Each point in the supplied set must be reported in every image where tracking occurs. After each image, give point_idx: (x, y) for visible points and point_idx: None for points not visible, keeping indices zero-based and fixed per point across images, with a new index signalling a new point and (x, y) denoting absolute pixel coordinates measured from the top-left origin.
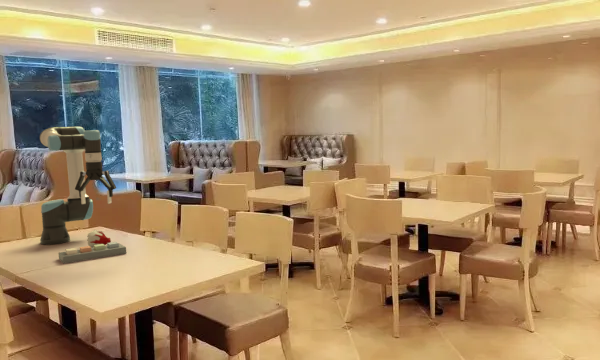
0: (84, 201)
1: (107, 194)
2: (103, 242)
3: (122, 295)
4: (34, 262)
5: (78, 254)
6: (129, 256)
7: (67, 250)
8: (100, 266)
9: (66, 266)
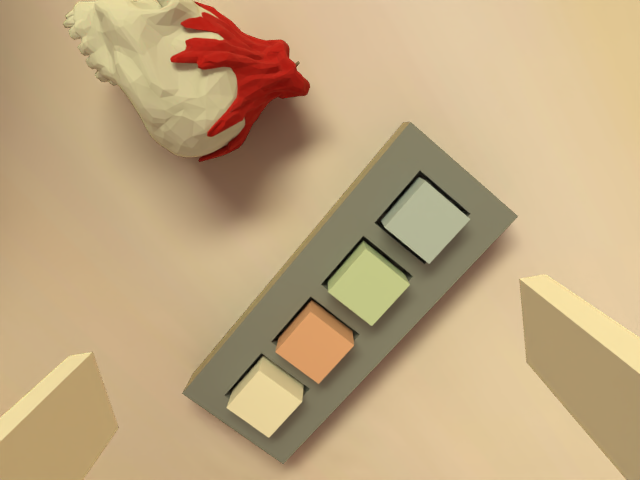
0: (83, 402)
1: (632, 477)
2: (266, 104)
3: None
4: (118, 439)
5: (331, 412)
6: (559, 272)
7: (261, 428)
8: (507, 458)
9: (338, 477)
